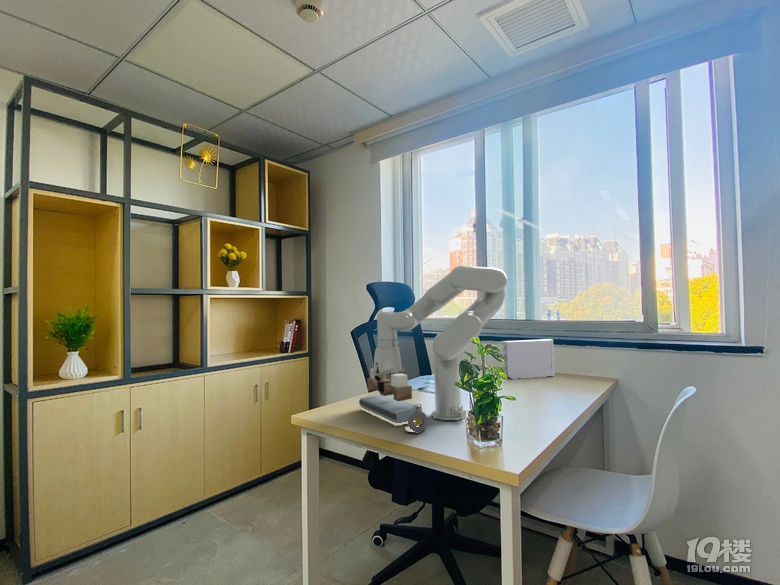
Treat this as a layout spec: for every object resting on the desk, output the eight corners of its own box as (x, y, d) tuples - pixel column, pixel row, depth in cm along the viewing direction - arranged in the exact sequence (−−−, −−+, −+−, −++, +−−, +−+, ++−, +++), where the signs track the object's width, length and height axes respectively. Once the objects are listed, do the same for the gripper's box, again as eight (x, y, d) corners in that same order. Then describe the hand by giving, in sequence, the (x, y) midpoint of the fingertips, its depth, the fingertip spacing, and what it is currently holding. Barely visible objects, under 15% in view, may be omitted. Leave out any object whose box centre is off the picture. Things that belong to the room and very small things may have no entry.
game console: (556, 376, 208) (554, 339, 208) (508, 379, 204) (507, 342, 204) (550, 374, 213) (548, 338, 214) (503, 377, 210) (502, 341, 210)
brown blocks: (411, 398, 139) (411, 386, 139) (398, 401, 136) (398, 388, 136) (380, 387, 158) (380, 376, 158) (367, 390, 154) (367, 378, 155)
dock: (422, 420, 139) (421, 406, 139) (395, 427, 132) (395, 412, 132) (383, 405, 160) (383, 393, 161) (359, 410, 154) (359, 398, 154)
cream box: (407, 385, 140) (407, 375, 140) (397, 387, 138) (397, 376, 138) (400, 383, 144) (400, 373, 144) (391, 385, 141) (390, 374, 141)
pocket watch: (412, 426, 133) (411, 397, 133) (432, 431, 128) (431, 400, 128) (397, 433, 127) (396, 402, 127) (418, 438, 121) (417, 406, 122)
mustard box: (385, 379, 153) (385, 369, 153) (376, 380, 150) (376, 370, 150) (380, 377, 156) (379, 367, 156) (370, 379, 154) (370, 369, 154)
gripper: (400, 341, 155) (401, 386, 155) (363, 344, 146) (364, 392, 145) (411, 342, 149) (412, 389, 148) (373, 346, 139) (374, 396, 139)
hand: (388, 390), depth 147 cm, fingers closed on brown blocks, 6 cm apart
